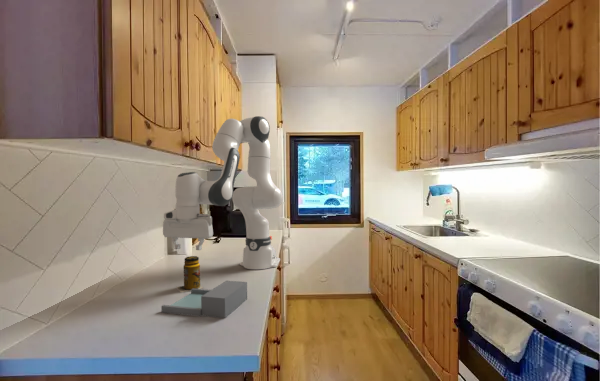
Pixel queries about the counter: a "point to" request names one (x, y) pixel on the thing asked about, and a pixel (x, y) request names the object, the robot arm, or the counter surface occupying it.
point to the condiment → (191, 274)
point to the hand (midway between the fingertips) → (188, 249)
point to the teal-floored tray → (211, 301)
